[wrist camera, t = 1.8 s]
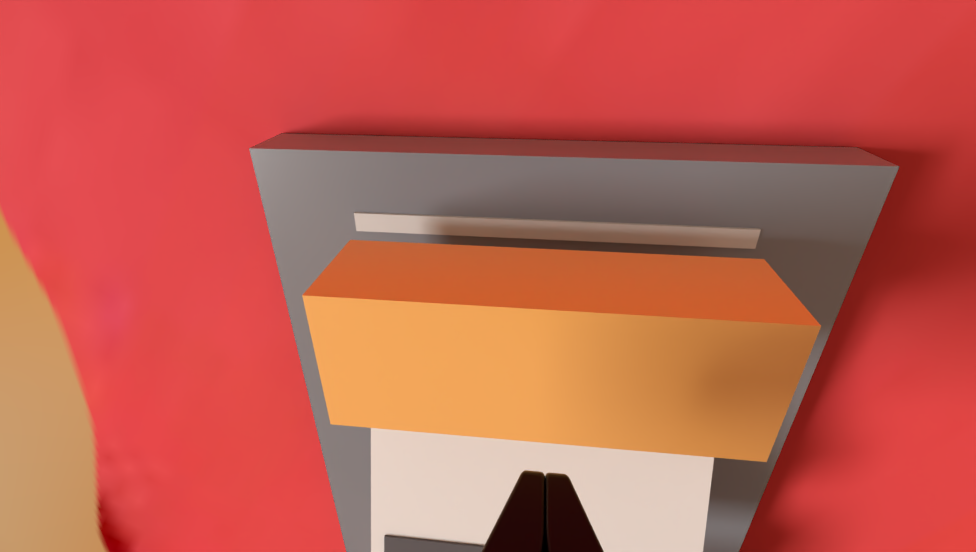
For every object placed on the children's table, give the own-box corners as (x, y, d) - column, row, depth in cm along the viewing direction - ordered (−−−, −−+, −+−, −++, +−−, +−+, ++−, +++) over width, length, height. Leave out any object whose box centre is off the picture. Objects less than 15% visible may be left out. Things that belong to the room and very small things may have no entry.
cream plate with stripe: (706, 410, 16) (719, 425, 15) (685, 598, 17) (695, 625, 16) (380, 384, 17) (369, 397, 16) (380, 563, 18) (370, 586, 17)
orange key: (764, 258, 12) (820, 325, 10) (727, 379, 14) (766, 461, 12) (350, 239, 13) (302, 295, 11) (367, 354, 15) (330, 424, 13)
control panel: (857, 147, 14) (958, 193, 11) (700, 573, 25) (725, 667, 21) (281, 133, 16) (205, 168, 13) (364, 536, 27) (336, 617, 23)
